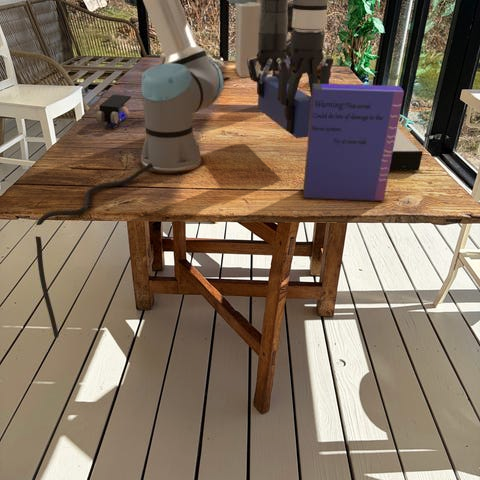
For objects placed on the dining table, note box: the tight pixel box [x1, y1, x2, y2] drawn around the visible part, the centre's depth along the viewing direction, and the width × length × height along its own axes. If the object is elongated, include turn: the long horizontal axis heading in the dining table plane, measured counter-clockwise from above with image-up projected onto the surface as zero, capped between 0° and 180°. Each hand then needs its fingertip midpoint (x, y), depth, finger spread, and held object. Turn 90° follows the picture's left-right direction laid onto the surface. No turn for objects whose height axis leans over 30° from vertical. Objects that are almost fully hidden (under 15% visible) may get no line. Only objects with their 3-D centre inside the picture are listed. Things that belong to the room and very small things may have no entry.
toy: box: [159, 52, 226, 68], centre depth 223 cm, size 24×25×7 cm
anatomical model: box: [317, 55, 334, 84], centre depth 196 cm, size 13×9×15 cm
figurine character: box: [95, 94, 132, 130], centre depth 148 cm, size 7×8×15 cm
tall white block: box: [234, 1, 271, 78], centre depth 210 cm, size 19×15×28 cm
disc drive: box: [389, 127, 424, 172], centre depth 128 cm, size 18×22×5 cm
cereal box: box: [302, 83, 405, 202], centre depth 102 cm, size 17×5×24 cm, turn 86°
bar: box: [257, 75, 312, 139], centre depth 125 cm, size 26×5×9 cm, turn 19°
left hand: (299, 130), depth 119 cm, fingers closed on bar, 5 cm apart
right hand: (269, 95), depth 133 cm, fingers closed on bar, 4 cm apart
